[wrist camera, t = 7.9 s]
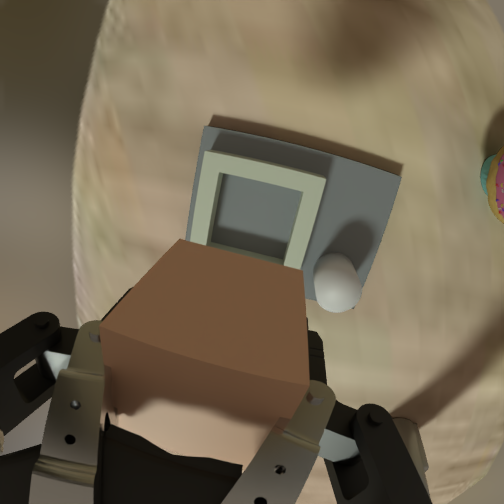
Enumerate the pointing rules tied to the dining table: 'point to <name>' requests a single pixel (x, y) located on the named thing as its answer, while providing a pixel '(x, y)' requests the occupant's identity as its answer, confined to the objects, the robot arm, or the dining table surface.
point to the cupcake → (494, 183)
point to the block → (208, 352)
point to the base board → (292, 210)
